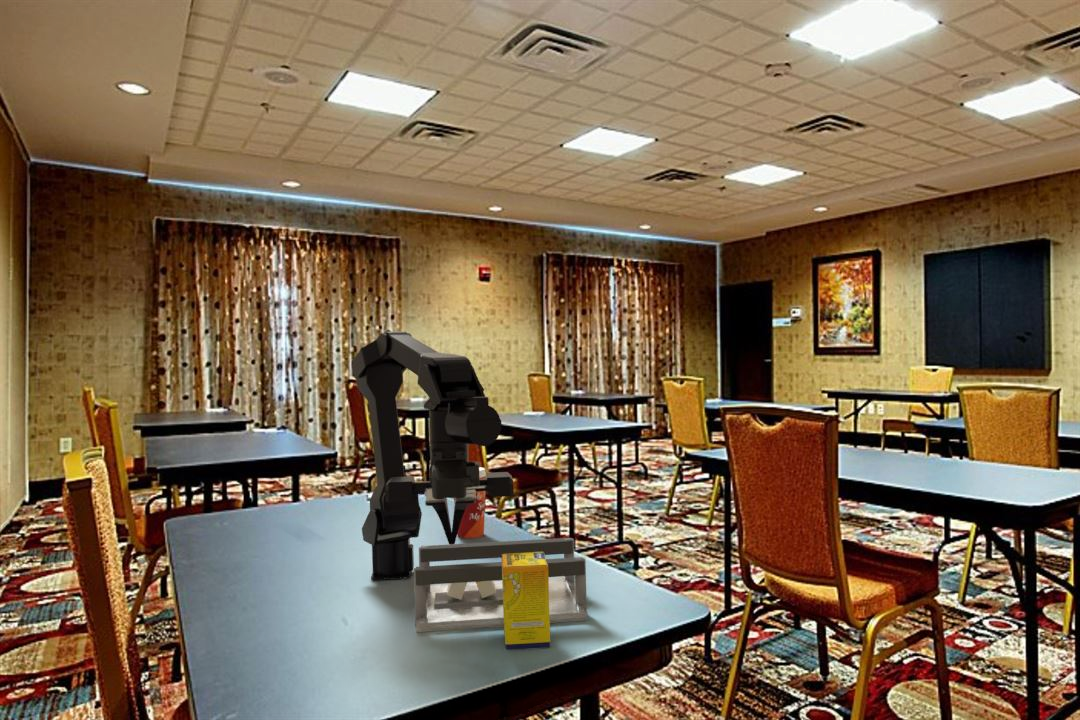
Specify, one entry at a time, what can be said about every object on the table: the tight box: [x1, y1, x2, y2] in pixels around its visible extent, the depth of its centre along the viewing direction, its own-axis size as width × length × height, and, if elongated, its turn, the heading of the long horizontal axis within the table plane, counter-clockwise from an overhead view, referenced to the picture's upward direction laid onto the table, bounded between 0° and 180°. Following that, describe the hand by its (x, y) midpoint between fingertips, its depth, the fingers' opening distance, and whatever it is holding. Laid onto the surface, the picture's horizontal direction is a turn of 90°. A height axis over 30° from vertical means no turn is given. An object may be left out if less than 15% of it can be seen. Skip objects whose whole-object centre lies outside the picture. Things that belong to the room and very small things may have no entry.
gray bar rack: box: [413, 537, 588, 627], centre depth 106 cm, size 25×13×8 cm, turn 96°
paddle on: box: [447, 582, 468, 600], centre depth 105 cm, size 2×3×3 cm, turn 6°
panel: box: [415, 576, 589, 633], centre depth 106 cm, size 24×16×2 cm, turn 96°
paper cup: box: [453, 466, 487, 540], centre depth 148 cm, size 8×8×14 cm
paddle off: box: [476, 581, 496, 598], centre depth 106 cm, size 2×3×3 cm, turn 6°
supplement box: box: [501, 552, 551, 652], centre depth 93 cm, size 6×6×11 cm
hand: (451, 543), depth 105 cm, fingers closed
